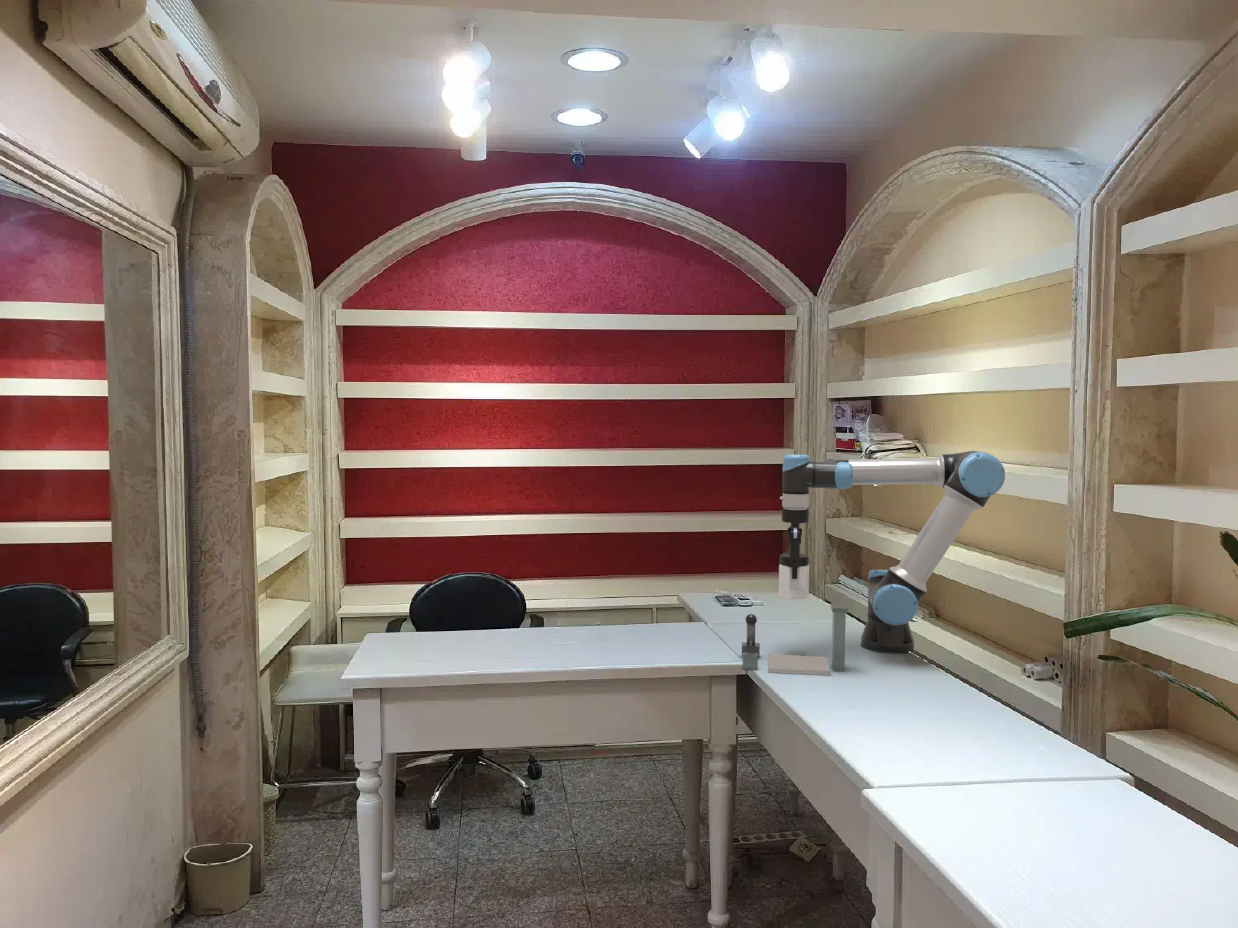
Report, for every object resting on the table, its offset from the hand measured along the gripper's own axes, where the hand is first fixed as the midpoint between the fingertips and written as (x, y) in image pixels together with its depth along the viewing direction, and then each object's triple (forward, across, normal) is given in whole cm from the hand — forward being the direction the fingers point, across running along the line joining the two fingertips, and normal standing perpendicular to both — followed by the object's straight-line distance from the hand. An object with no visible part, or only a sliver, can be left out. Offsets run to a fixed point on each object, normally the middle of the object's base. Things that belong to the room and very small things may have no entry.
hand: (793, 586), depth 252 cm
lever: (+18, +6, -12) cm, 23 cm away
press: (+19, +12, 0) cm, 23 cm away
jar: (+3, 0, 0) cm, 3 cm away
